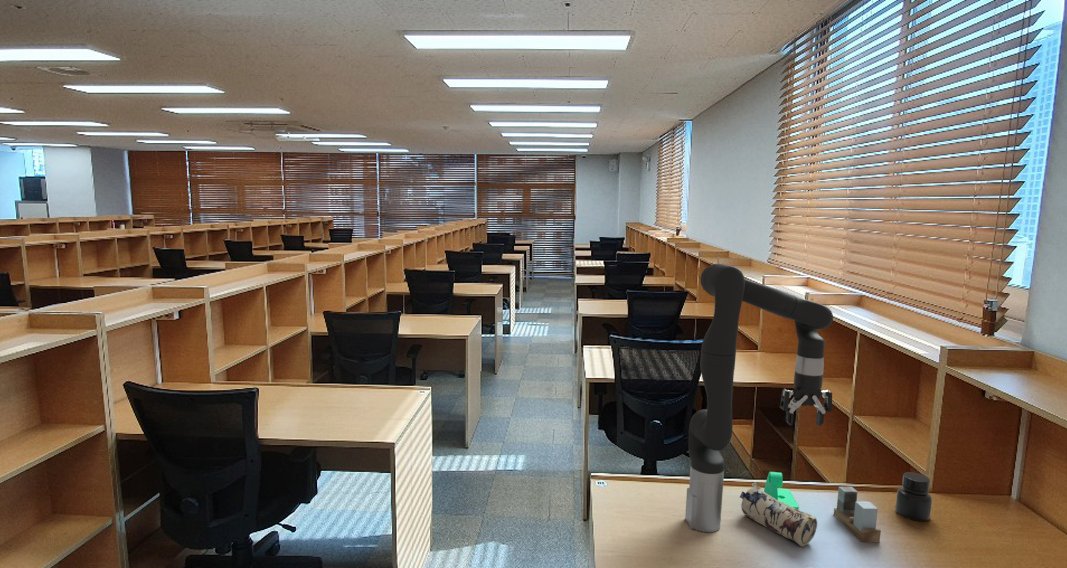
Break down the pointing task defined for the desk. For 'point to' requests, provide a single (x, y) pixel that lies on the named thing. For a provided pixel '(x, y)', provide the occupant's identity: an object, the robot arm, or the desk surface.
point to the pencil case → (778, 516)
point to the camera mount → (779, 490)
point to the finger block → (865, 515)
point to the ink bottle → (914, 497)
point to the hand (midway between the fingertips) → (804, 424)
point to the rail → (846, 515)
